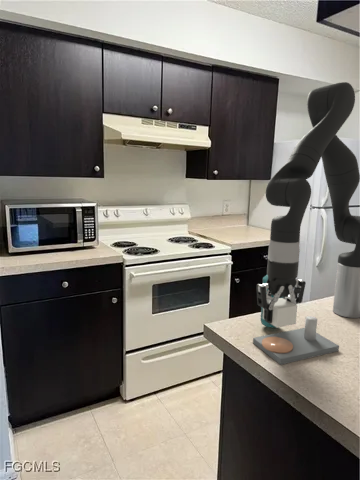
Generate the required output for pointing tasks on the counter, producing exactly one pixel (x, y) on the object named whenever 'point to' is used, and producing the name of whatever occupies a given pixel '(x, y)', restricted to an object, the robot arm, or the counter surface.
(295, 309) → the off-white matte cube
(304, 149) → the robot arm
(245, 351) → the counter surface
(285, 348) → the tan flat disc
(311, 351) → the post board
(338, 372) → the counter surface
